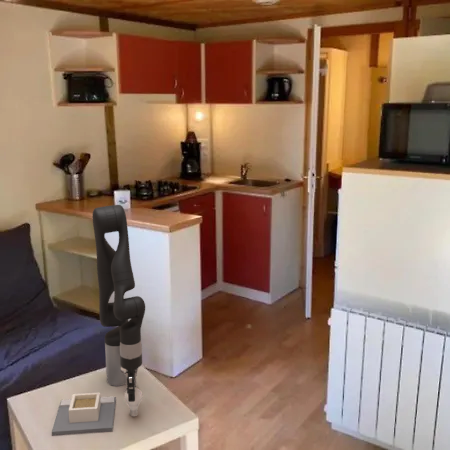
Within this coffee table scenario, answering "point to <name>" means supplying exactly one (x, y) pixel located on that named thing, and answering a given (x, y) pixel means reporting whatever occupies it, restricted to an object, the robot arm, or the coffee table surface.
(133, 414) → the lightbulb
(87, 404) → the socket plunger
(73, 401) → the socket board
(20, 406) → the coffee table surface
